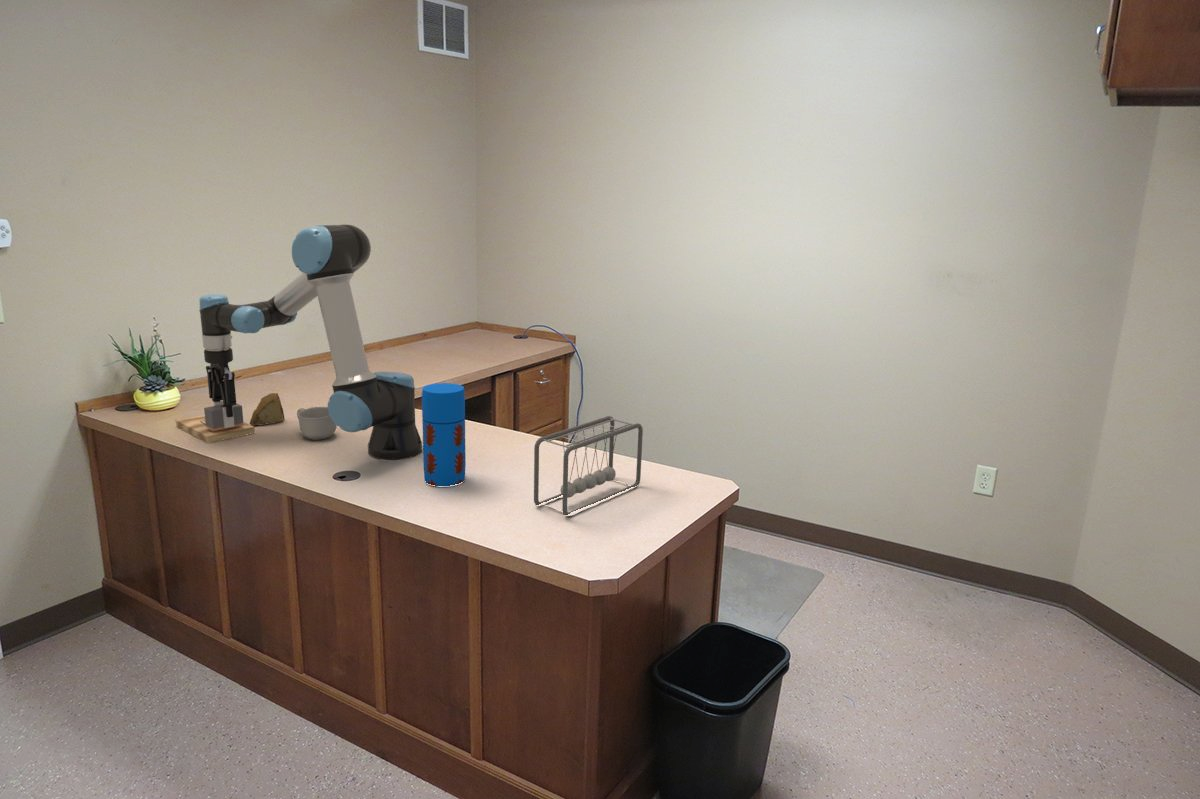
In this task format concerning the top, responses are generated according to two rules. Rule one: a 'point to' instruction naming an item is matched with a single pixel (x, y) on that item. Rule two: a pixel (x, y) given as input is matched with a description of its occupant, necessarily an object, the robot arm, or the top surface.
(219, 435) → the board
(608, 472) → the newton's cradle
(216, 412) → the block
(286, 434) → the top surface
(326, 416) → the teacup
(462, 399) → the thermos
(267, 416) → the rock
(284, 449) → the top surface
